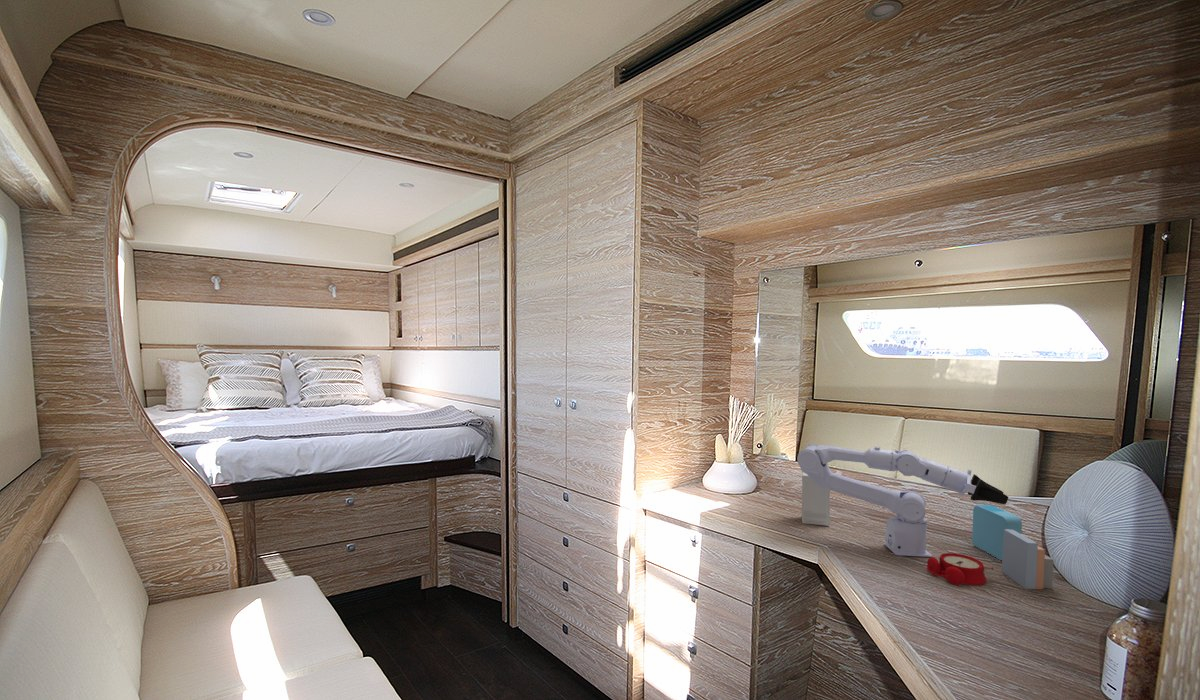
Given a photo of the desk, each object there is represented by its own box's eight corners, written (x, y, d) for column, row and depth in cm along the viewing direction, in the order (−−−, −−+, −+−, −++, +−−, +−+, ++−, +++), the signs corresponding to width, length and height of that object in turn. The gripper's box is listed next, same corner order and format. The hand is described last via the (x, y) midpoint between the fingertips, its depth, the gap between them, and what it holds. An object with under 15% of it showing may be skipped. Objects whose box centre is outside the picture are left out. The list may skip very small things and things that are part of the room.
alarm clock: (1001, 568, 133) (955, 561, 128) (995, 593, 133) (950, 587, 128) (961, 551, 143) (918, 544, 138) (956, 574, 142) (912, 568, 138)
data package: (1020, 562, 145) (1022, 518, 144) (1004, 562, 144) (1006, 518, 144) (986, 544, 157) (988, 503, 156) (971, 544, 156) (973, 503, 156)
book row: (1025, 588, 130) (1027, 542, 129) (1001, 571, 139) (1003, 529, 138) (1055, 590, 129) (1057, 544, 129) (1029, 573, 138) (1031, 530, 138)
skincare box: (828, 520, 175) (830, 472, 174) (829, 527, 168) (831, 477, 168) (800, 516, 177) (802, 469, 177) (800, 523, 171) (802, 474, 170)
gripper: (951, 465, 140) (1015, 487, 133) (947, 459, 152) (1005, 479, 146) (942, 491, 140) (1004, 514, 134) (939, 483, 153) (996, 504, 146)
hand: (1004, 498), depth 140 cm, fingers open, 7 cm apart
